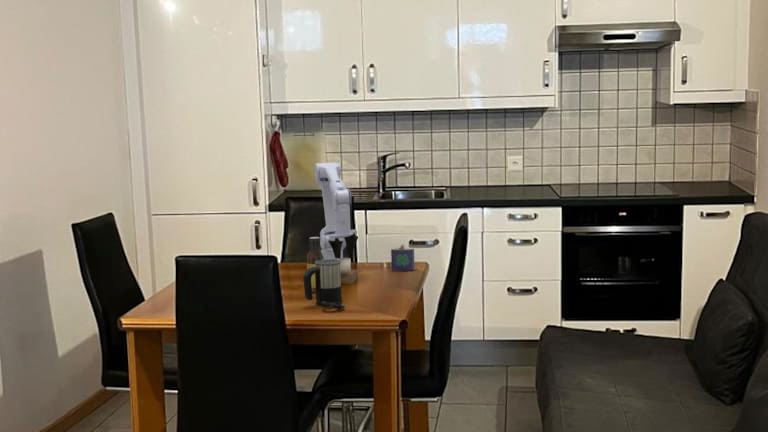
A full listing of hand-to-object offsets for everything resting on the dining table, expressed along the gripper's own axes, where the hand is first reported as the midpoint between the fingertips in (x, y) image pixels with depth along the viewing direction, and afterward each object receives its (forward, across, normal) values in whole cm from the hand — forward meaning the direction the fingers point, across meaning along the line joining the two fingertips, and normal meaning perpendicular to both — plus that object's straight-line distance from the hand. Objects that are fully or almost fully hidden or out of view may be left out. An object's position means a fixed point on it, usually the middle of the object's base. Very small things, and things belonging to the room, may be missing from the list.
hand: (344, 256), depth 349 cm
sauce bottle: (+10, -18, -1) cm, 21 cm away
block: (+10, 0, 0) cm, 10 cm away
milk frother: (+10, -33, -20) cm, 40 cm away
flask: (+10, +26, -9) cm, 29 cm away
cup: (+6, 0, 0) cm, 6 cm away
